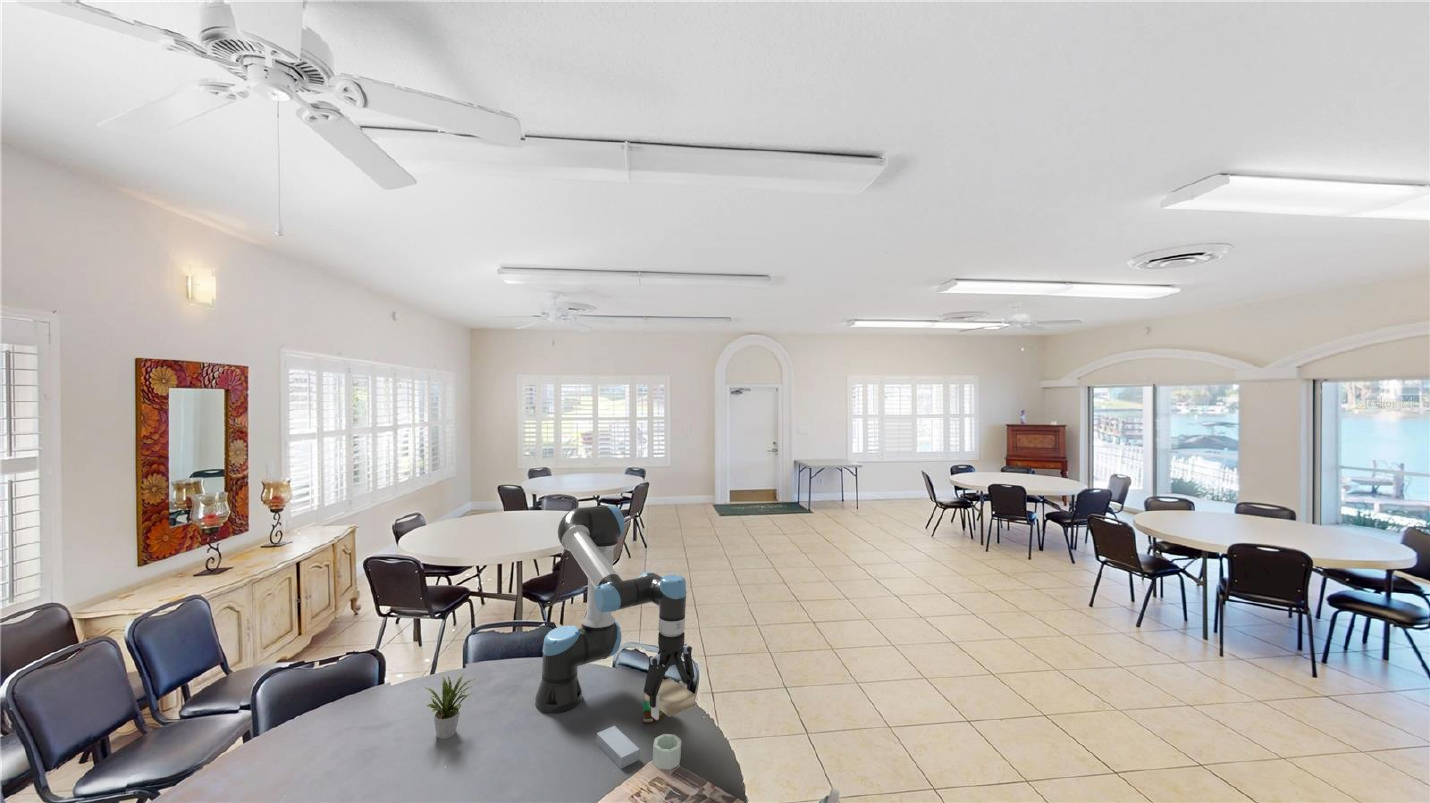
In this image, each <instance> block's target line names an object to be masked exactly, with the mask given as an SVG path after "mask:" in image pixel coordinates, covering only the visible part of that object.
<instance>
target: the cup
mask: <svg viewBox="0 0 1430 803" xmlns="http://www.w3.org/2000/svg"><path fill="white" fill-rule="evenodd" d="M681 753H682V739H681V738H679V737H678V736H677V735H676V734H672V733H671V734H668V733H663V734H661V735H659V736H657V737H655V738H654V741H653V745H652V764H653V765H654V766H655V767H656V768H657V769H658V770H667V771H671V770H673V769H674V768H676V767H679V766H680V762H681V757H682V756H681V755H682V754H681Z"/></svg>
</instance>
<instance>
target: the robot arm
mask: <svg viewBox="0 0 1430 803" xmlns="http://www.w3.org/2000/svg"><path fill="white" fill-rule="evenodd" d="M625 531H626V522H625V517H624V515H623V513H622V511H621V509H620V508H619V507H618V506H616V505H613V504H609V505H608V504H607V505H605V504H604V505H603V504H602V505H596V506H595V505H593V506H586V507H585V506H584V507H577V508H573V509H571V510H569V511H568V512H566V513H565V515H563V517H562V518H561V520H560V521H559V524H558V528H557V536H558V540H559V543H560V544H561V546H562V547H563V548H564V550H566V551H569V552H570V553H571V556H573V558H574V559H575V561H576V562H577V564H578V565H579V567H580V568H581V570H582V571H583V573H584V574H585V575H586V577H587V596H586V598H587V599H586V600H587V601H586V616H585V617H584V618H583V619H582V621H581V628H579V627H578V626H576V625H569V624H568V625H566V624H565V625H560V626H559V627H555V628H553V629H552V630H550V631H548V632H547V634H546V635H545V637H544V639H543V645H542V666H541V667H542V669H541V670H542V671H541V673H542V674H541V680H540V683H539V686H538V689H537V692H536V695H535V707H536V708H537V710H539V711H541V712H543V713H547V714H560V713H563V712H568V711H570V710H573V709H575V708H576V707H577V706H579V705H580V704H581V701H582V696H583V690H582V687H581V683H580V679H579V677H578V671H579V670H578V669H579V667H580V666H583V665H587V664H590V663H591V664H592V663H593V662H594V663H595V662H597V661H601V660H607V659H608V658H609V657H613V656H614V655H616V654H618V651H619V650H620V648H621V643H622V632H621V627H620V623H618V622H617V621H616V618H615V617H614V615H612V612H616V611H620V610H624V609H627V608H631V607H636V606H641V605H645V604H649V603H652V604H655V605H656V606H658V607H659V608H658V609H659V610H658V629H657V630H658V634H657V635H658V638H657V640H658V641H657V644H658V652H657V654H656V655H654V656H652V655H649V657H648V668H647V669H648V670H647V674H646V677H645V682H644V687H643V694H644V693H645V694H647V695H648V696H650V706H651V716H652V717H653V718H654V719H656V720H658V719H659V698H660V695H658V691H659V688H660V686H661V683H662V681H663V679H664V678H665V676H666V673H667V672H668V671H669V668H670V667H672V666H675V667H676V669H677V672H678V674H679V677H680V679H681V680H679V682H678V683H679V684H680V685H682V686H683V687H684V688H686V689H688V690H689V685H691V683H692V680H694V678H696V676H695V670H694V663H693V658H692V650H693V647H692V646H691V645H689V644H688V643H685V635H686V634H685V630H686V629H685V628H686V606H687V605H686V602H687V593H688V592H687V580H686V578H685V577H683V576H682V575H679V574H678V575H677V574H667V575H666V574H665V575H663V576H661V575H659V574H657V573H655V572H651V571H644V572H643V573H641V574H640V575H638V577H637V578H633V579H626V580H623V579H622V578H621V577H620V575H619V574H618V573H617V572H616V570H615V569H614V548H615V547H616V546H617V545H618V544H619V538H621V537H623V535H624V533H625ZM682 657H683V659H682Z"/></svg>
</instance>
